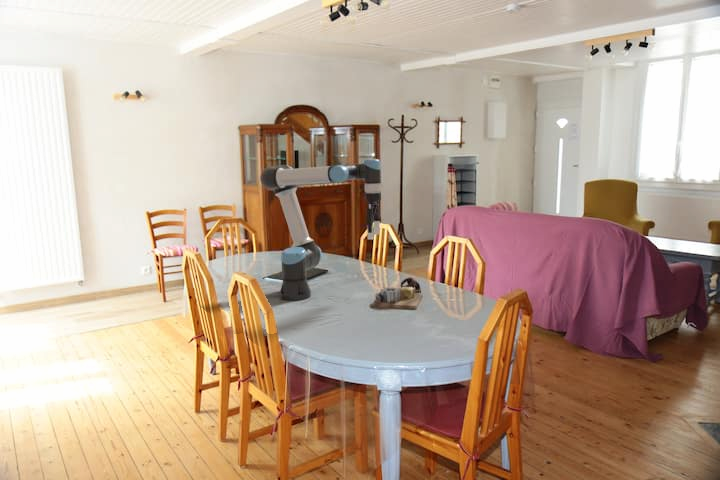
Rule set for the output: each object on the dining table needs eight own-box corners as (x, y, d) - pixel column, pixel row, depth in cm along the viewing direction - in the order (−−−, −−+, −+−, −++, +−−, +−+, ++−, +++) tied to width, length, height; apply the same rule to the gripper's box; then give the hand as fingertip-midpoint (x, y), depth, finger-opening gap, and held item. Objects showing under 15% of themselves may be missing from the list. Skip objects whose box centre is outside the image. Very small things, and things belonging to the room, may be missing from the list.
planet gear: (379, 302, 253) (378, 291, 252) (383, 297, 262) (382, 286, 261) (398, 303, 251) (398, 292, 250) (402, 297, 260) (401, 287, 259)
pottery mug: (423, 295, 271) (416, 282, 268) (406, 303, 273) (398, 290, 270) (421, 283, 282) (413, 270, 278) (404, 290, 283) (397, 278, 280)
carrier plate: (372, 306, 252) (372, 294, 251) (381, 294, 271) (381, 282, 270) (416, 309, 247) (416, 296, 246) (422, 296, 266) (422, 284, 265)
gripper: (374, 195, 249) (375, 241, 253) (386, 189, 273) (386, 232, 277) (358, 195, 251) (359, 241, 255) (371, 189, 275) (371, 232, 279)
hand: (373, 236), depth 266 cm, fingers open, 13 cm apart
